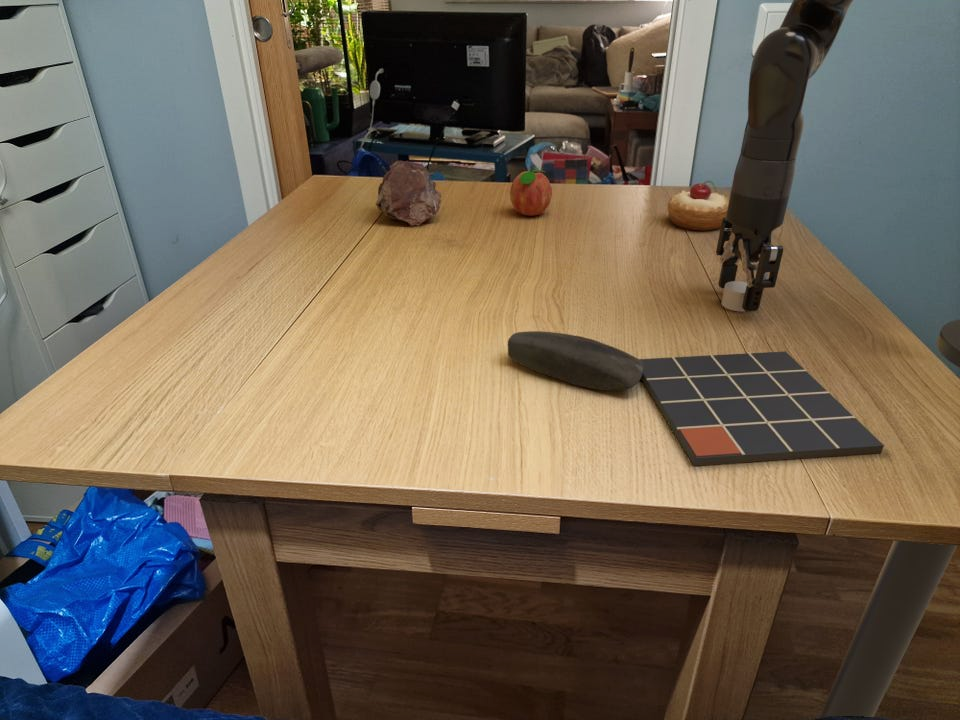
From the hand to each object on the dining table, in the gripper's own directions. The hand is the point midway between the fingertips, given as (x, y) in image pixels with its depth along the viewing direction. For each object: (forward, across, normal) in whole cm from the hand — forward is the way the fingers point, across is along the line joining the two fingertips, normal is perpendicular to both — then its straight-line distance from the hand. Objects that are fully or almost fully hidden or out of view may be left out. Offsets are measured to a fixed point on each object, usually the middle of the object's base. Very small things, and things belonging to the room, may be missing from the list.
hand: (737, 298), depth 99 cm
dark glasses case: (+1, -17, +29) cm, 33 cm away
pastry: (+1, +38, -9) cm, 39 cm away
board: (+1, -26, +11) cm, 28 cm away
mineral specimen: (+2, +49, +48) cm, 68 cm away
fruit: (+2, +48, +23) cm, 53 cm away
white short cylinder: (+1, 0, 0) cm, 1 cm away
